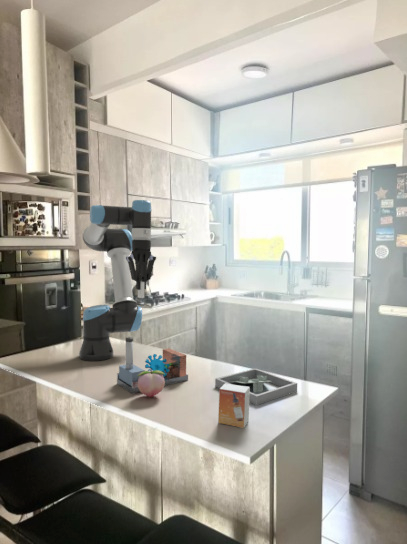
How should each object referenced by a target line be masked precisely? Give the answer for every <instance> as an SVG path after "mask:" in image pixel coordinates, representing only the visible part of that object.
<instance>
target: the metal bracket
mask: <svg viewBox="0 0 407 544" xmlns="http://www.w3.org/2000/svg"><path fill="white" fill-rule="evenodd" d="M230 382H234V383H239V384H252V389H253V392H252V393H254V394H257V393H258V394H259V393H264V384H263V383H270V382H272V381H267V376H264V377H263V376H260V375H257V377H256V379H248V377H247V378H246V377H239V381H230Z"/></svg>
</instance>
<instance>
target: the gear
mask: <svg viewBox="0 0 407 544" xmlns="http://www.w3.org/2000/svg"><path fill="white" fill-rule="evenodd" d="M152 358H153V359H152ZM166 361H167V360H166V359H164V360H163V355H161V354H159V356H158V358H157V354H156V353H153V355H150V354H149V355H148V357H147V358H146V360H145V361H144V362H145V363H146V364H145V365H144V367H145V369H147V371H151V370H152V371H155V370H159V371H162V372H163V373H164V374H165V375H164V374H163V376H164V377H165V376H166V375H167V374H166V373H168V372H169V369H168V367H170V366H171V363H169V364H165V363H166ZM163 362H164V363H163ZM165 370H166V373H165Z"/></svg>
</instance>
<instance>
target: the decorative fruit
mask: <svg viewBox="0 0 407 544" xmlns="http://www.w3.org/2000/svg"><path fill="white" fill-rule="evenodd" d="M150 370H151V371H148V370H145V371H143V372H141V373H140V374H139V375H138V376H140V377H139V379H138V388H139V390H140V392H139V393H141V394H143V395H144V396H146V397H148V398H152V397H153V398H154V397H155V396H156V395H158V394H159V393H160V392H162V390H163V389H164V387H165V386H164V385H165V381H164V377H163V375H162V374H164V373H163V372H162V371H159V370H155V371H152V369H150ZM164 375H165V374H164ZM138 376H137V377H138Z"/></svg>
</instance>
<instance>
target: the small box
mask: <svg viewBox="0 0 407 544" xmlns="http://www.w3.org/2000/svg"><path fill="white" fill-rule="evenodd" d="M232 384H233V383H231V384H227V383H225V384H224V385H223V386H222V387H221V388H219V393H218V394H219V395H218V415H217V416H218V418H217V419H218V421H217V423H218V424H224V425H228V426H233V427H236V428H237V427H238V428H241V429H244V428H245V427H246V425H247V424H248V423H249V419H250V418H249V415H250V402H249V397H250V392H251V391H250V390H251V388H250V387H251V386H246V385H237V384H233V385H232Z"/></svg>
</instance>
